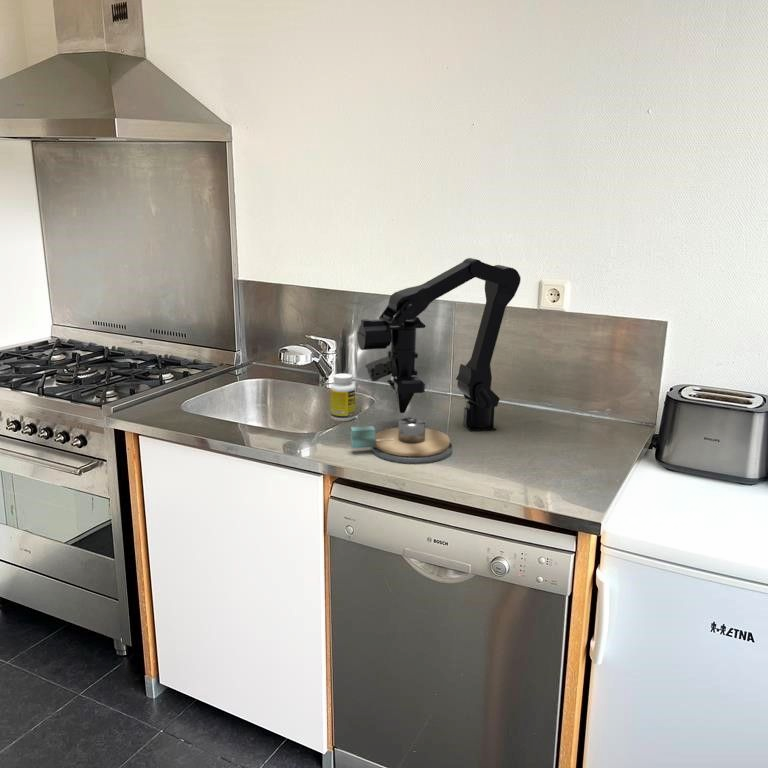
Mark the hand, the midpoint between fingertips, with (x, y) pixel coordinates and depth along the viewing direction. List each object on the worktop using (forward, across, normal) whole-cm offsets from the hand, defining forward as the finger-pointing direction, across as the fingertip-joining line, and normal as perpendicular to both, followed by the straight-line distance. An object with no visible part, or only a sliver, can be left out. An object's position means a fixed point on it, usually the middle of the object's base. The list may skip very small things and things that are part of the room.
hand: (401, 412), depth 179 cm
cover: (+3, +10, 0) cm, 10 cm away
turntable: (+4, +10, -2) cm, 11 cm away
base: (+6, +10, 0) cm, 11 cm away
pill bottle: (+6, -15, -12) cm, 20 cm away
